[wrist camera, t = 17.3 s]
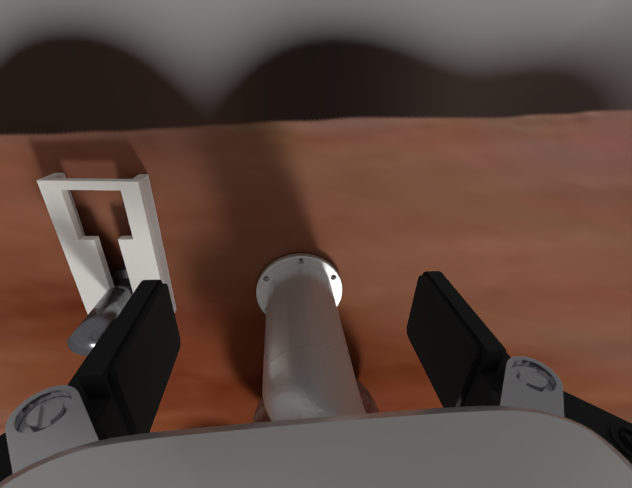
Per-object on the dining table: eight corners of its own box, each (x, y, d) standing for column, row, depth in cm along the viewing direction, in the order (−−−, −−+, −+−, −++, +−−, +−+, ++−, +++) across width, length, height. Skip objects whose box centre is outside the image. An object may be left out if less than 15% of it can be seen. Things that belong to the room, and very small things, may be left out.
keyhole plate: (176, 308, 45) (170, 323, 43) (103, 311, 44) (92, 325, 42) (148, 174, 36) (138, 181, 33) (54, 172, 35) (36, 180, 32)
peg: (152, 291, 44) (112, 359, 33) (118, 292, 43) (67, 361, 33) (145, 265, 42) (100, 328, 31) (110, 265, 41) (52, 330, 31)
